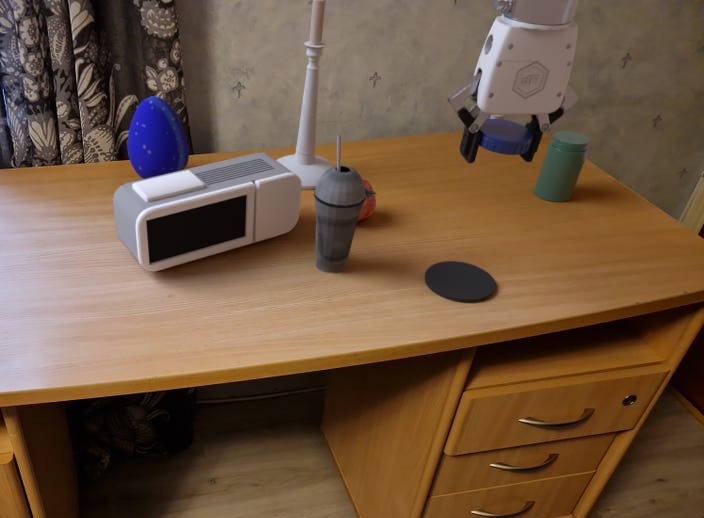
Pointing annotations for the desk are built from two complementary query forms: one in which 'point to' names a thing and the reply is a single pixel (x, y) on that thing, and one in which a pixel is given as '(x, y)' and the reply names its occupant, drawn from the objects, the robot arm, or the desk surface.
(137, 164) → the ornament
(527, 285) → the desk surface
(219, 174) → the alarm clock
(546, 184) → the jar
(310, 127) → the candlestick
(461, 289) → the coaster
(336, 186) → the beverage cup
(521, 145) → the lid
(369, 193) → the pomegranate
